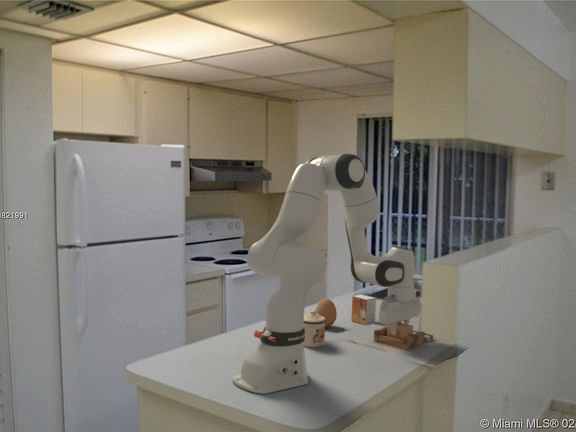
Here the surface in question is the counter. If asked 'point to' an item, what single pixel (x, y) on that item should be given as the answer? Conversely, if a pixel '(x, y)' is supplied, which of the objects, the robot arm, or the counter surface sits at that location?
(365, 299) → the small box
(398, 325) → the block
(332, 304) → the egg
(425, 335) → the plank
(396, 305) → the robot arm
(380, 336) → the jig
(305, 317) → the teacup with lid
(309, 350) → the counter surface
